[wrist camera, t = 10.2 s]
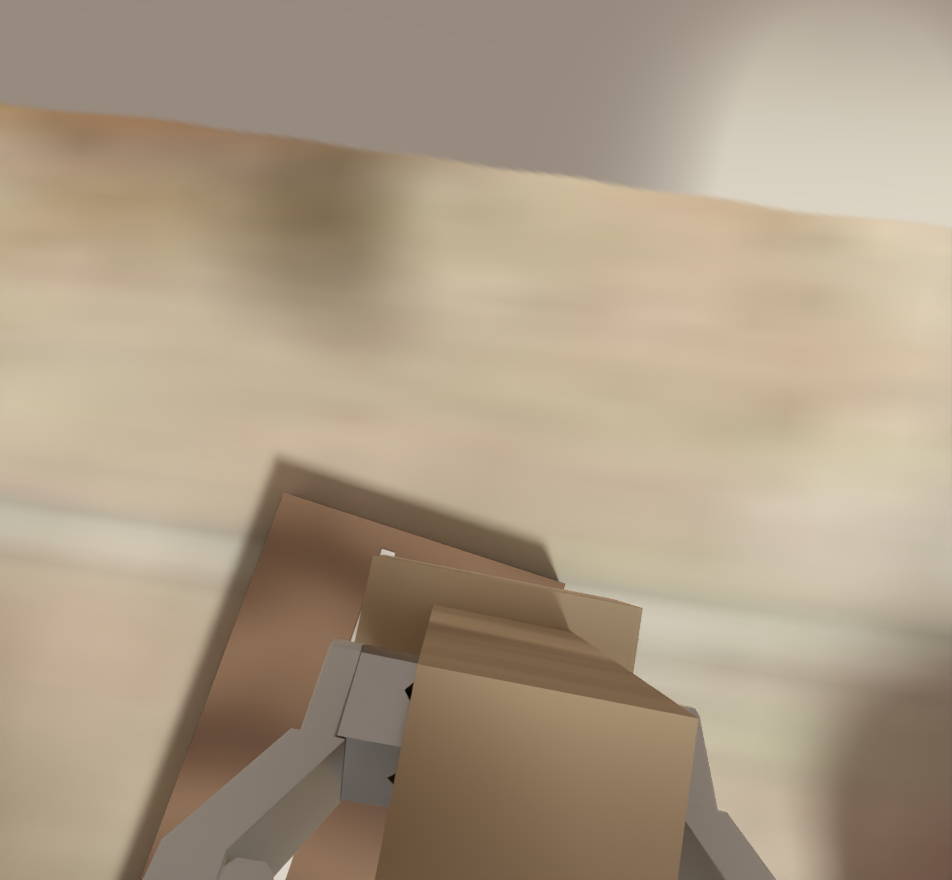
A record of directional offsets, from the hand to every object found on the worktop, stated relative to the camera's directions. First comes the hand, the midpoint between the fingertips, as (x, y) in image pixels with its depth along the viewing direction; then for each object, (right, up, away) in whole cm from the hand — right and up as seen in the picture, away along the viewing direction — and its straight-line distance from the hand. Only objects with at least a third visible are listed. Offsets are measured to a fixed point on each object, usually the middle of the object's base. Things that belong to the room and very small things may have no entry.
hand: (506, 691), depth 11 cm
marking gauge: (0, -1, +5) cm, 6 cm away
